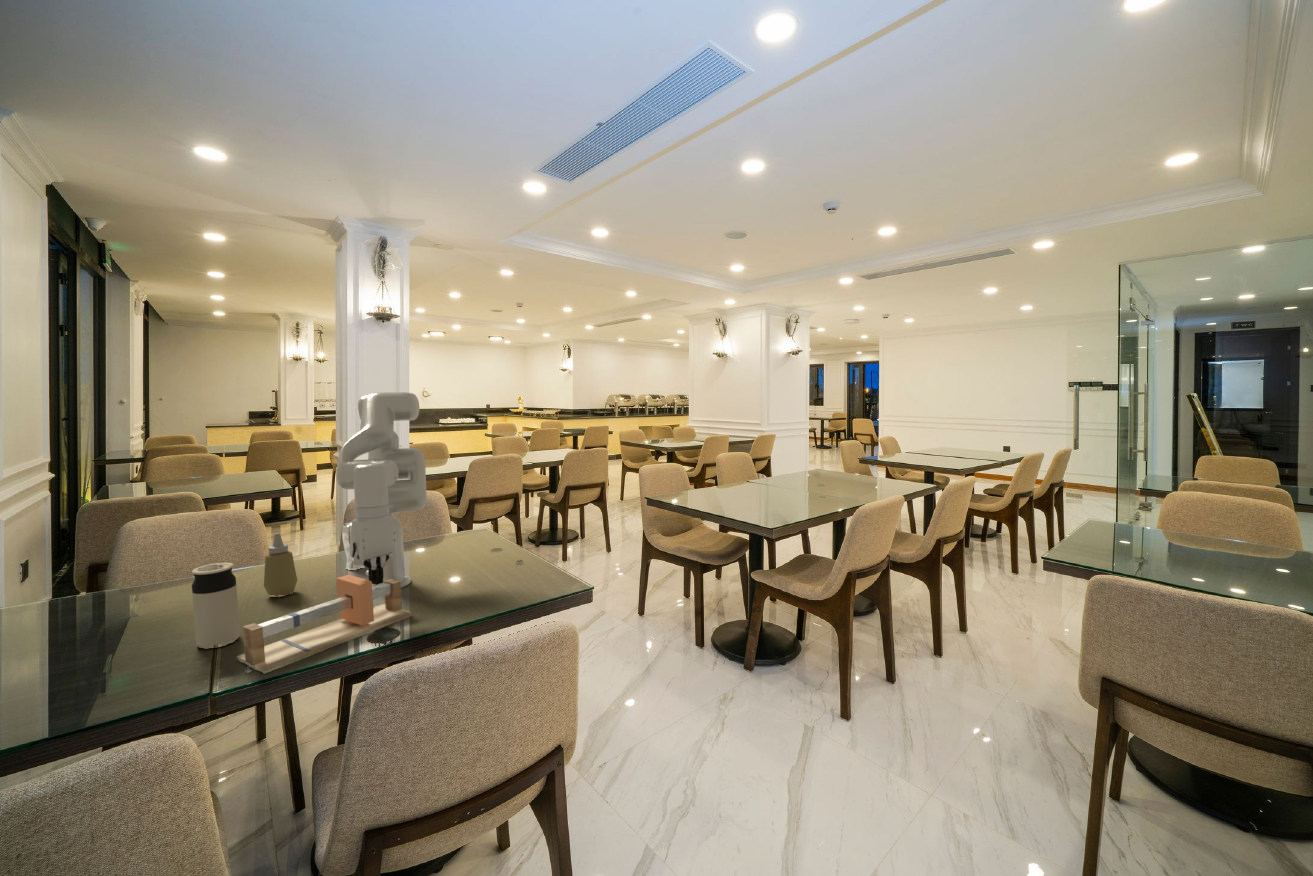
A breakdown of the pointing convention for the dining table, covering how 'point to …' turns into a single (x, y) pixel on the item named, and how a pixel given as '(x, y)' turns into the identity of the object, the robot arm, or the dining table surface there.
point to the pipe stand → (318, 628)
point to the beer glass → (348, 546)
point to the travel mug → (215, 604)
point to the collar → (356, 599)
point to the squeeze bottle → (279, 569)
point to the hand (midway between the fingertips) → (376, 583)
